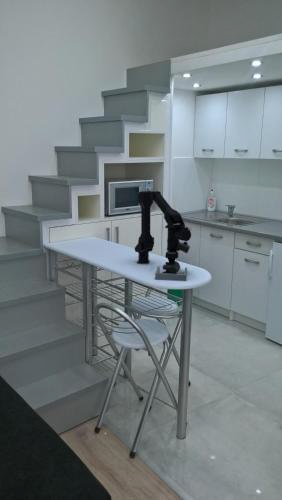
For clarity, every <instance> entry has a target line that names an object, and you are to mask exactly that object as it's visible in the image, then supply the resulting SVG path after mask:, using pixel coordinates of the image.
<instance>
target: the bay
mask: <svg viewBox="0 0 282 500" xmlns="http://www.w3.org/2000/svg"><path fill="white" fill-rule="evenodd" d="M187 273H188V267H184V273H177V274H168V273H163V272H160V266H157V268H156V270H155V274H154V280H155V281H156V280H158V281H159V280H160V281H179V282H186V281H187V275H188V274H187Z"/></svg>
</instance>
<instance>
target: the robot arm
mask: <svg viewBox="0 0 282 500" xmlns="http://www.w3.org/2000/svg"><path fill="white" fill-rule="evenodd" d="M137 202H138V204H139V206H140V209H141V211H140V213H141V214H140V216H141V217H140V222H141V223H140V224H141V225H140V226H141V228H140V229H141V231H140V235H139V237H138V240H137V244H136V246H135V247H134V252H135V253H138V256H137V257H138V260H137V262H136V264H147V265H148V264H150V262H151V260H150V259H149V257H150V255H149V254H150V253H149V252H153V249H154V246H155V237H154V236H152V234H151V208H152V205H153V204H154V203H155V205H156V206H157V207H158V208H159V209H160V211H161V212H162V213H163V220H164V221H165V222H166V225H165V227H164V228H165V229H167V240H166V242H167V244H166V252H165V255H164V256H165V258H166V259H167V262H174V261H176V259H179V255H180V253H179V252H180V251H181V252H183V253H185V254H188V252H189V250H190V245H189V244H188V241H190V240H191V238H192V232H191V230H189V227H187V226H186V225H185V222H184V219H183V217H182V214H181V213H180V212H179V211H177V210H176V209H174V208H172V206H171V205H170V204H169V203H168V201H167V200H166V199H165V198H164V197H163V195H162V193H161V191H159V190H152V191H151V190H140V191H139V192H138V193H137ZM180 241H183V242H180Z"/></svg>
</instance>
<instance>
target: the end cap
mask: <svg viewBox="0 0 282 500" xmlns="http://www.w3.org/2000/svg"><path fill="white" fill-rule="evenodd" d="M180 269H181V265H180V263H179V262H178V261H177V260H175V261H174V262H169V261H165V264H163V265H162V273H168V274H179V271H180ZM163 270H164V271H163Z"/></svg>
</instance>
